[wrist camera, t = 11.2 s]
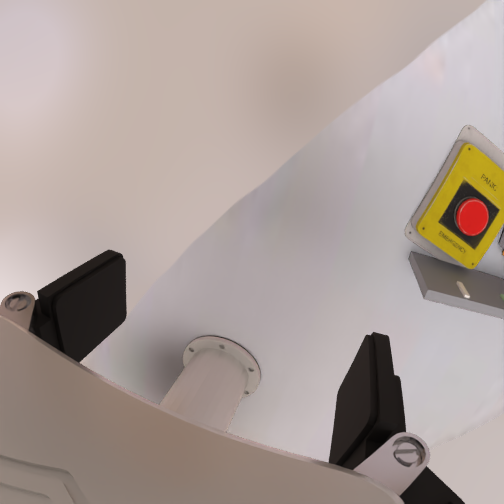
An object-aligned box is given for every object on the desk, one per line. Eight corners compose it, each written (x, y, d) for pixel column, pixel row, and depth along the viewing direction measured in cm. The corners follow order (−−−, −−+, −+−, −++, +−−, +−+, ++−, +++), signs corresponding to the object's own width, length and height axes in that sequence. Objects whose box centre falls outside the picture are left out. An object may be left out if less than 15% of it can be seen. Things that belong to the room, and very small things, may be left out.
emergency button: (406, 246, 29) (479, 120, 22) (400, 232, 33) (464, 121, 26) (468, 289, 28) (538, 176, 21) (457, 272, 32) (519, 169, 25)
